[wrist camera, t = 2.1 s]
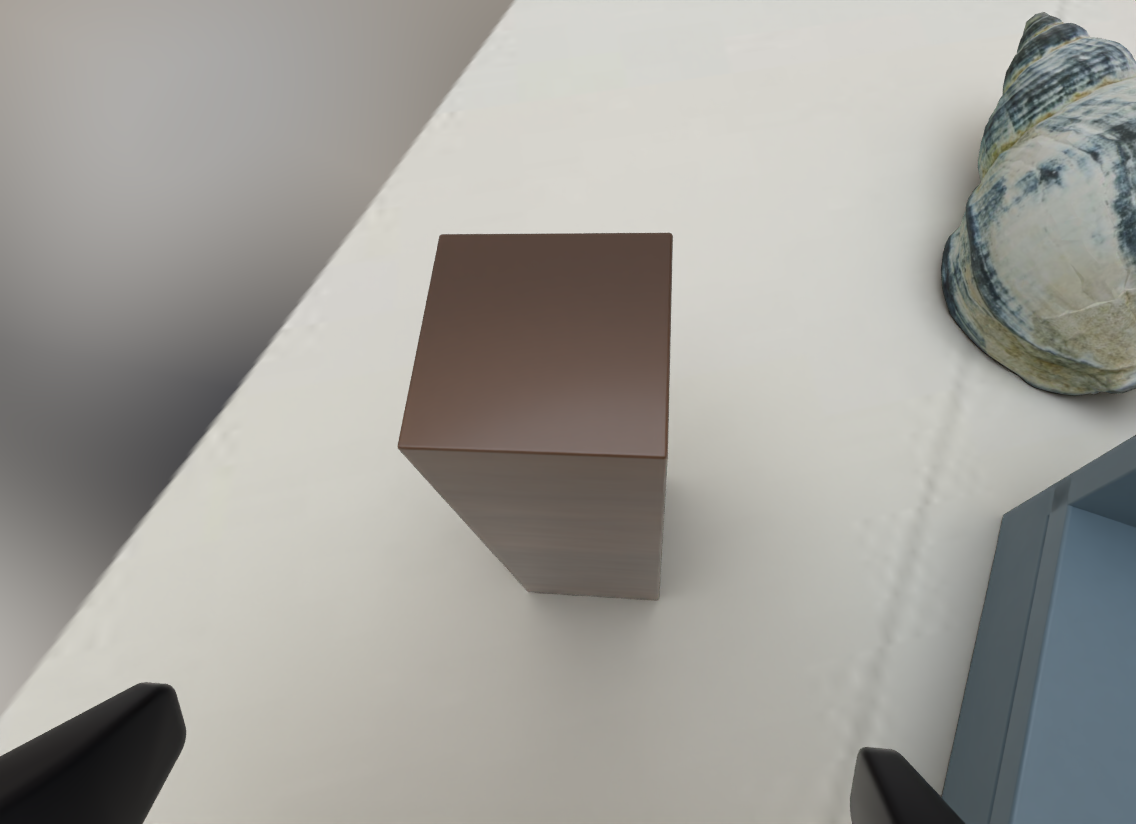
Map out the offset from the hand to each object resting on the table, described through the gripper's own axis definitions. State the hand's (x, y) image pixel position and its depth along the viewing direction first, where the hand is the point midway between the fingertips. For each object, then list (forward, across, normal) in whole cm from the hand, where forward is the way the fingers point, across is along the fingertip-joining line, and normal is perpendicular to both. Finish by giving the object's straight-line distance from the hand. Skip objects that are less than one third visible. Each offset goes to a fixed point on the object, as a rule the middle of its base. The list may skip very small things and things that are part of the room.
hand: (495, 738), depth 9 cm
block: (+13, 0, +5) cm, 14 cm away
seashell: (+21, -16, -3) cm, 27 cm away
